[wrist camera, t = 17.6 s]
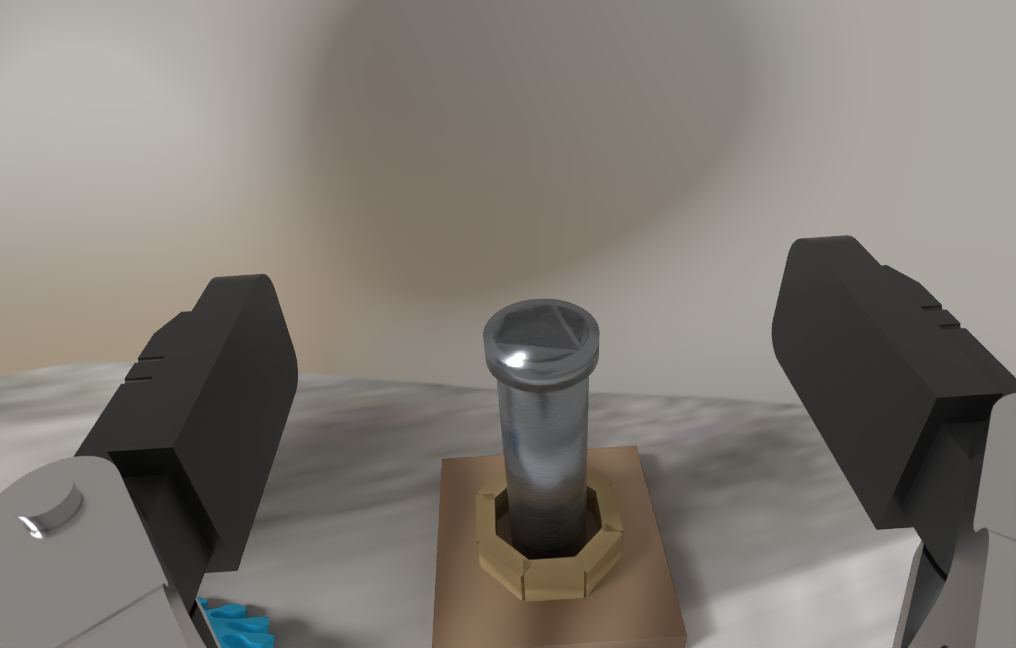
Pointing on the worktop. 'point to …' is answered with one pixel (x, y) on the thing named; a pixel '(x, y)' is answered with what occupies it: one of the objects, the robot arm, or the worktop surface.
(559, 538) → the pin
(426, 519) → the worktop surface
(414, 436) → the worktop surface
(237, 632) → the blue irregular figure
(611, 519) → the stand
